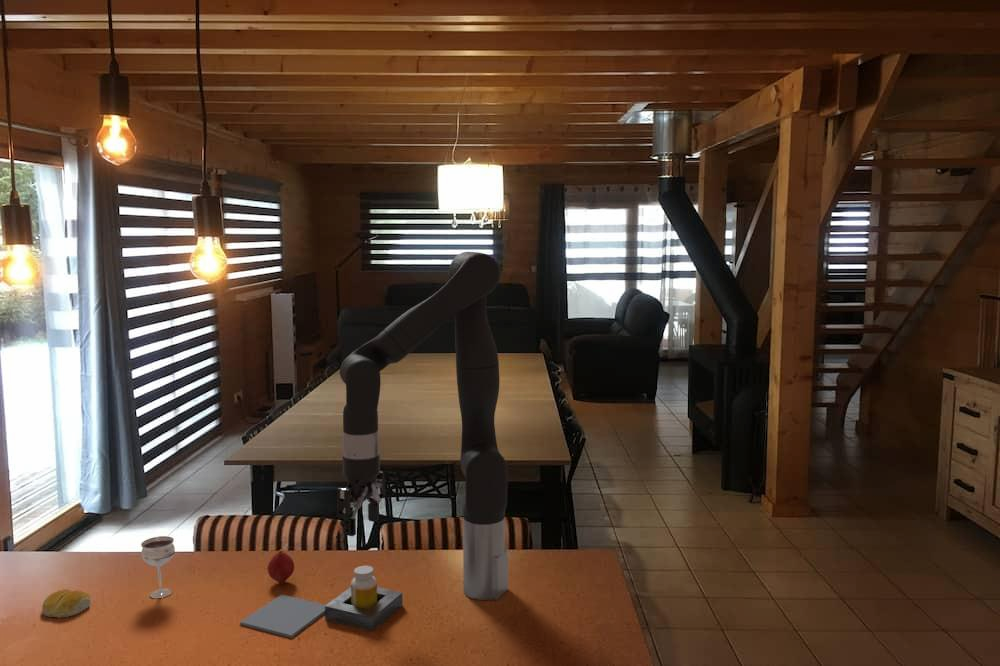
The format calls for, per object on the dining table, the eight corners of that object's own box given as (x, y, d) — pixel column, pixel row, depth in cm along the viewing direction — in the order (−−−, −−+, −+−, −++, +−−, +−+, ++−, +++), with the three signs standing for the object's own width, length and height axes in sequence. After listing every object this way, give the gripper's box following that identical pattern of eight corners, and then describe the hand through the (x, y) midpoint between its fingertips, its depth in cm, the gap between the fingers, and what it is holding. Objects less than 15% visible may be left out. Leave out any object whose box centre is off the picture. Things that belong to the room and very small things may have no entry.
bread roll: (63, 598, 171) (61, 581, 171) (97, 603, 169) (96, 586, 169) (32, 616, 164) (30, 598, 163) (67, 622, 161) (66, 604, 161)
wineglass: (137, 598, 171) (133, 545, 170) (160, 584, 178) (157, 534, 176) (161, 603, 169) (158, 550, 167) (184, 589, 175) (181, 538, 174)
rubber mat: (330, 608, 167) (330, 606, 166) (291, 638, 155) (291, 635, 155) (281, 597, 172) (281, 594, 172) (240, 624, 160) (240, 621, 160)
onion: (263, 583, 178) (262, 549, 177) (285, 574, 183) (284, 542, 181) (277, 591, 174) (275, 557, 173) (299, 582, 179) (298, 549, 178)
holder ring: (402, 605, 168) (402, 592, 167) (372, 631, 157) (372, 617, 157) (356, 595, 173) (356, 582, 172) (325, 619, 162) (324, 605, 162)
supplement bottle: (346, 612, 165) (345, 569, 164) (366, 603, 169) (366, 561, 167) (362, 621, 161) (361, 577, 160) (382, 612, 165) (381, 569, 164)
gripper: (356, 464, 152) (358, 543, 154) (395, 445, 165) (395, 519, 167) (324, 459, 155) (326, 537, 157) (365, 441, 168) (366, 513, 170)
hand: (362, 527), depth 162 cm, fingers open, 8 cm apart
